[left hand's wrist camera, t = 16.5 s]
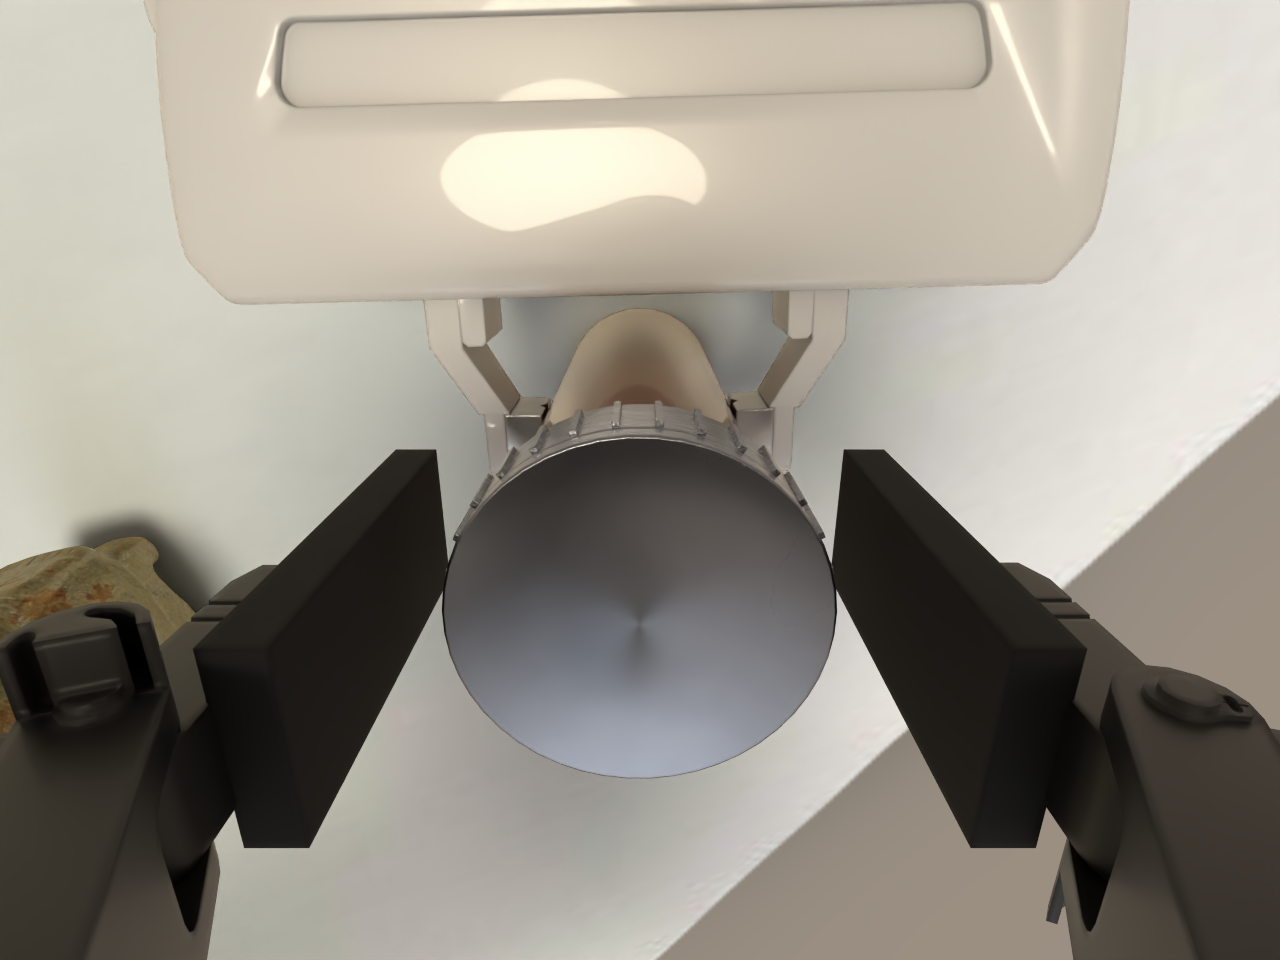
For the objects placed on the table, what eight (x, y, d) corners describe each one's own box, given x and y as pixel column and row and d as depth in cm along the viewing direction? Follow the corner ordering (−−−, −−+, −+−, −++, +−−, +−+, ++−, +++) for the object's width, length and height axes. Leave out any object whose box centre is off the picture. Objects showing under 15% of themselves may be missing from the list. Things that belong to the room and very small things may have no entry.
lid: (486, 364, 11) (460, 389, 9) (862, 439, 11) (899, 476, 9) (444, 684, 13) (417, 750, 11) (764, 738, 13) (781, 809, 11)
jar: (731, 339, 25) (856, 514, 10) (677, 463, 26) (721, 763, 12) (599, 286, 24) (538, 396, 10) (552, 416, 26) (441, 673, 11)
